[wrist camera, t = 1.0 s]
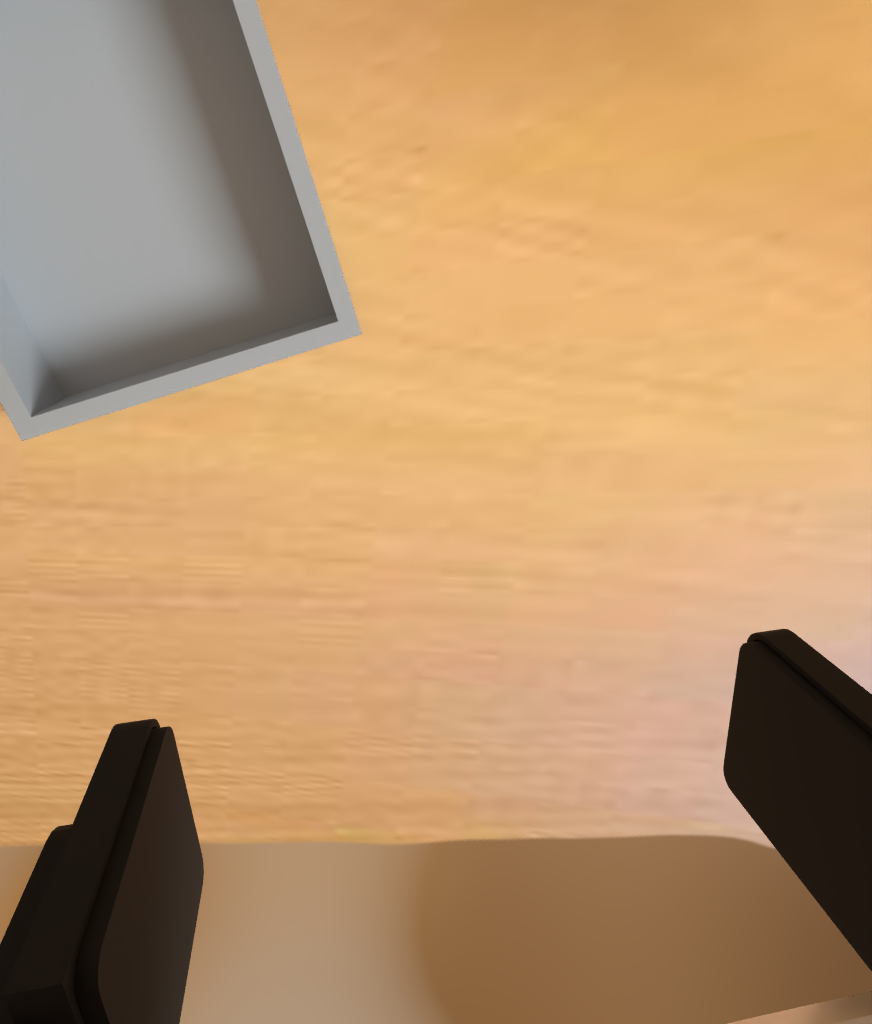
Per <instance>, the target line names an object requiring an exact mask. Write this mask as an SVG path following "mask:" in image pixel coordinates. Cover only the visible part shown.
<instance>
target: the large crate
mask: <svg viewBox="0 0 872 1024" xmlns="http://www.w3.org/2000/svg"><path fill="white" fill-rule="evenodd" d="M361 334H362V333H361V329H360V326H359V323H358V320H357V317H356V314H355V311H354V307H353V304H352V301H351V298H350V295H349V292H348V288H347V285H346V282H345V279H344V276H343V273H342V270H341V266H340V263H339V260H338V257H337V254H336V251H335V247H334V244H333V241H332V238H331V235H330V232H329V229H328V225H327V222H326V219H325V216H324V213H323V210H322V207H321V203H320V200H319V197H318V194H317V191H316V188H315V184H314V181H313V178H312V175H311V172H310V169H309V166H308V162H307V159H306V156H305V153H304V150H303V147H302V143H301V140H300V137H299V134H298V131H297V128H296V125H295V121H294V118H293V115H292V112H291V109H290V106H289V102H288V99H287V96H286V93H285V90H284V87H283V84H282V80H281V77H280V74H279V71H278V68H277V65H276V61H275V58H274V55H273V52H272V49H271V46H270V43H269V39H268V36H267V33H266V30H265V27H264V24H263V20H262V17H261V14H260V11H259V8H258V5H257V2H256V0H0V402H1V404H2V406H3V408H4V410H5V411H6V413H7V415H8V417H9V419H10V420H11V422H12V424H13V426H14V428H15V430H16V431H17V433H18V435H19V437H20V439H21V440H22V441H23V440H27V439H30V438H33V437H36V436H39V435H42V434H46V433H49V432H52V431H55V430H58V429H62V428H65V427H68V426H71V425H74V424H77V423H81V422H84V421H87V420H90V419H93V418H97V417H100V416H103V415H106V414H109V413H112V412H116V411H119V410H122V409H125V408H128V407H132V406H135V405H138V404H141V403H144V402H148V401H151V400H154V399H157V398H160V397H163V396H167V395H170V394H173V393H176V392H179V391H183V390H186V389H189V388H192V387H195V386H198V385H202V384H205V383H208V382H211V381H214V380H218V379H221V378H224V377H227V376H230V375H234V374H237V373H240V372H243V371H246V370H249V369H253V368H256V367H259V366H262V365H265V364H269V363H272V362H275V361H278V360H281V359H284V358H288V357H291V356H294V355H297V354H300V353H304V352H307V351H310V350H313V349H316V348H319V347H323V346H326V345H329V344H332V343H335V342H339V341H342V340H345V339H348V338H351V337H355V336H358V335H361Z"/></svg>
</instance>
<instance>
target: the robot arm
mask: <svg viewBox="0 0 872 1024" xmlns="http://www.w3.org/2000/svg"><path fill="white" fill-rule="evenodd" d="M724 776H725V780H726V782H727V785H728V787H729V788H730V790H731V791H732V793H733V794H734V795H735V796H736V798H737V799H738V800H739V802H740V803H741V804H742V805H743V807H744V808H745V809H746V811H747V812H748V813H749V814H750V816H751V817H752V818H753V820H754V821H755V822H756V823H757V825H758V826H759V827H760V829H761V830H762V831H763V832H764V834H765V835H766V836H767V838H768V839H769V840H770V841H771V843H772V844H773V845H774V847H775V848H776V849H777V850H778V851H779V853H780V854H781V855H782V857H783V858H784V859H785V861H786V862H787V863H788V864H789V866H790V867H791V868H792V870H793V871H794V872H795V874H796V875H797V876H798V877H799V879H800V880H801V881H802V883H803V884H804V885H805V886H806V887H807V889H808V890H809V892H810V893H811V894H812V895H813V897H814V898H815V899H816V901H817V902H818V903H819V904H820V906H821V907H822V908H823V910H824V911H825V912H826V913H827V915H828V916H829V917H830V919H831V920H832V921H833V922H834V924H835V925H836V926H837V928H838V929H839V930H840V931H841V933H842V934H843V935H844V937H845V938H846V939H847V940H848V942H849V943H850V944H851V946H852V947H853V948H854V949H855V951H856V952H857V953H858V955H859V956H860V957H861V958H862V960H863V961H864V962H865V964H866V965H867V966H868V967H869V969H870V970H871V971H872V694H870V693H869V692H868V691H867V690H865V689H864V688H863V687H861V686H860V685H859V684H858V683H856V682H855V681H854V680H853V679H851V678H850V677H849V676H848V675H846V674H845V673H844V672H843V671H841V670H840V669H839V668H837V667H836V666H835V665H834V664H832V663H831V662H830V661H829V660H827V659H826V658H825V657H824V656H822V655H821V654H820V653H819V652H817V651H816V650H815V649H814V648H812V647H811V646H810V645H808V644H807V643H806V642H805V641H803V640H802V639H801V638H800V637H798V636H797V635H796V634H795V633H793V632H792V631H790V630H788V629H779V630H772V631H765V632H758V633H754V634H752V635H750V637H749V638H748V640H747V643H745V644H743V645H742V646H741V648H740V651H739V658H738V665H737V673H736V680H735V687H734V694H733V701H732V709H731V716H730V723H729V730H728V737H727V745H726V752H725V759H724ZM203 870H204V869H203V858H202V853H201V849H200V844H199V840H198V836H197V831H196V827H195V823H194V819H193V814H192V810H191V806H190V801H189V797H188V793H187V789H186V784H185V780H184V776H183V771H182V767H181V763H180V759H179V754H178V750H177V746H176V741H175V737H174V733H173V730H172V728H171V727H162V728H160V725H159V723H158V721H157V720H156V719H149V720H142V721H135V722H128V723H121V724H116V725H115V726H114V727H113V729H112V730H111V733H110V735H109V737H108V740H107V742H106V745H105V747H104V750H103V752H102V754H101V757H100V759H99V762H98V764H97V767H96V769H95V771H94V774H93V776H92V779H91V781H90V784H89V786H88V788H87V791H86V793H85V796H84V798H83V801H82V803H81V805H80V808H79V810H78V813H77V815H76V818H75V820H74V822H73V824H71V825H65V826H59V827H57V828H56V829H54V830H53V831H52V832H51V834H50V836H49V837H48V839H47V841H46V843H45V845H44V847H43V850H42V852H41V854H40V857H39V859H38V861H37V863H36V865H35V868H34V870H33V872H32V874H31V877H30V879H29V881H28V883H27V886H26V888H25V890H24V892H23V895H22V897H21V899H20V901H19V904H18V906H17V908H16V910H15V912H14V915H13V917H12V919H11V921H10V924H9V926H8V928H7V930H6V933H5V936H4V937H3V940H2V942H1V944H0V1024H179V1022H180V1016H181V1011H182V1004H183V999H184V993H185V987H186V980H187V975H188V969H189V963H190V957H191V951H192V945H193V939H194V933H195V927H196V921H197V915H198V909H199V903H200V898H201V891H202V885H203V874H204V871H203ZM728 1024H872V991H870V992H866V993H861V994H857V995H852V996H848V997H843V998H839V999H834V1000H830V1001H826V1002H821V1003H816V1004H812V1005H808V1006H804V1007H798V1008H794V1009H790V1010H785V1011H781V1012H776V1013H772V1014H767V1015H763V1016H758V1017H754V1018H750V1019H746V1020H741V1021H737V1022H732V1023H728Z"/></svg>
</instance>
